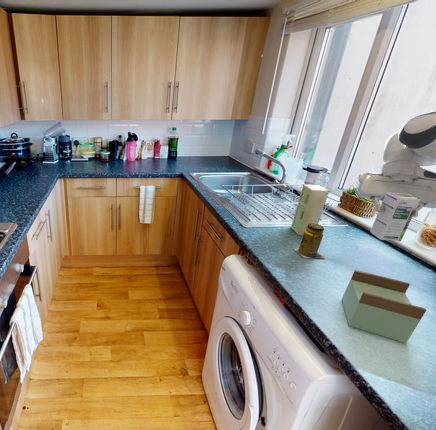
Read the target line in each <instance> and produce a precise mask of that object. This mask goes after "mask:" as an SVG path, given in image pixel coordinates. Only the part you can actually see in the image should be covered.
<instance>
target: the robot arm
mask: <svg viewBox="0 0 436 430" xmlns="http://www.w3.org/2000/svg"><path fill="white" fill-rule="evenodd" d="M382 159H383V164H382V166H381V172H380V173H379V172H370V171H365V172H362V173H360V174H359V175H358V182H359V184H358V187H357V190H356V196H357V197H358V198H360V199H367V200H371V204H373V206H374V207H375V212H377V213H378V212H382V211H383V210H384V206H383V205H381V204H382V203H380V202H383V199H384V197H385V195H386V193H387V192H390V193H404V194H411V195H413V196H416V197H417V198H419V199H420V202H419V204H418V206H417V208H416V210H415V213H414V215H413V217H412V219H413V218H418V216H419V211H420V210H422V209H423V208H427V209H436V172H434V171H431V170H429V169H425V168H423V167H430V166H431V167H432V166H436V110H434V111H428V112H425V113H421V114H418V115H416V116H414V117H412V118H410V119H408V121H406V122H405V123H404V124H403V125H402V127H401V128H400V130H399V131H396V132H394V133H392V134H391V135H390V136H389V137H388V138H387V140H386V143H385V145H384V149H383V156H382Z"/></svg>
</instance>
